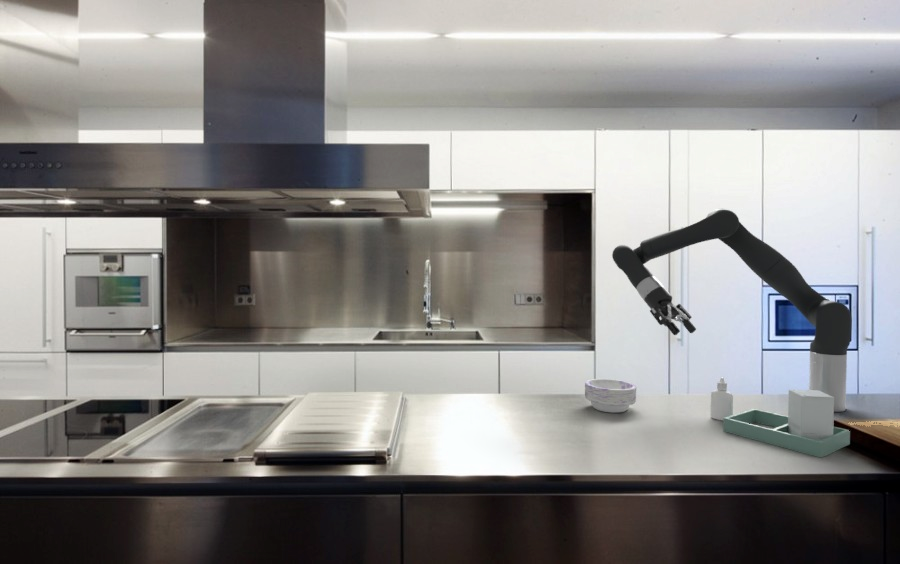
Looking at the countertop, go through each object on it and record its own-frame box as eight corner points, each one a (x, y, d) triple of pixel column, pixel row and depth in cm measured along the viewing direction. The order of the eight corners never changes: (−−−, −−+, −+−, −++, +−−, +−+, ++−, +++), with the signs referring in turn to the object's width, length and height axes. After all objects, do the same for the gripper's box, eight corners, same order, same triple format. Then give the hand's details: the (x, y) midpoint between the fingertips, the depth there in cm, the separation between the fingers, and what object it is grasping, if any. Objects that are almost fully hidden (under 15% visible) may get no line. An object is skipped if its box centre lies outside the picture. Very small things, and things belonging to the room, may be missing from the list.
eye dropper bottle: (721, 415, 153) (722, 375, 152) (734, 421, 147) (735, 379, 147) (708, 416, 152) (708, 376, 152) (720, 422, 147) (721, 380, 146)
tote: (753, 420, 148) (753, 408, 148) (849, 444, 129) (850, 430, 129) (723, 430, 139) (723, 418, 139) (821, 457, 120) (821, 442, 120)
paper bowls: (646, 410, 159) (646, 384, 158) (614, 419, 150) (614, 392, 150) (606, 399, 171) (606, 375, 171) (574, 407, 163) (574, 382, 162)
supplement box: (834, 449, 125) (835, 397, 124) (799, 447, 126) (801, 395, 126) (818, 439, 132) (820, 389, 132) (786, 437, 134) (787, 388, 133)
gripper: (647, 286, 163) (680, 326, 154) (674, 285, 171) (707, 323, 162) (632, 302, 168) (663, 341, 159) (659, 300, 176) (690, 338, 167)
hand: (685, 332), depth 160 cm, fingers open, 8 cm apart
